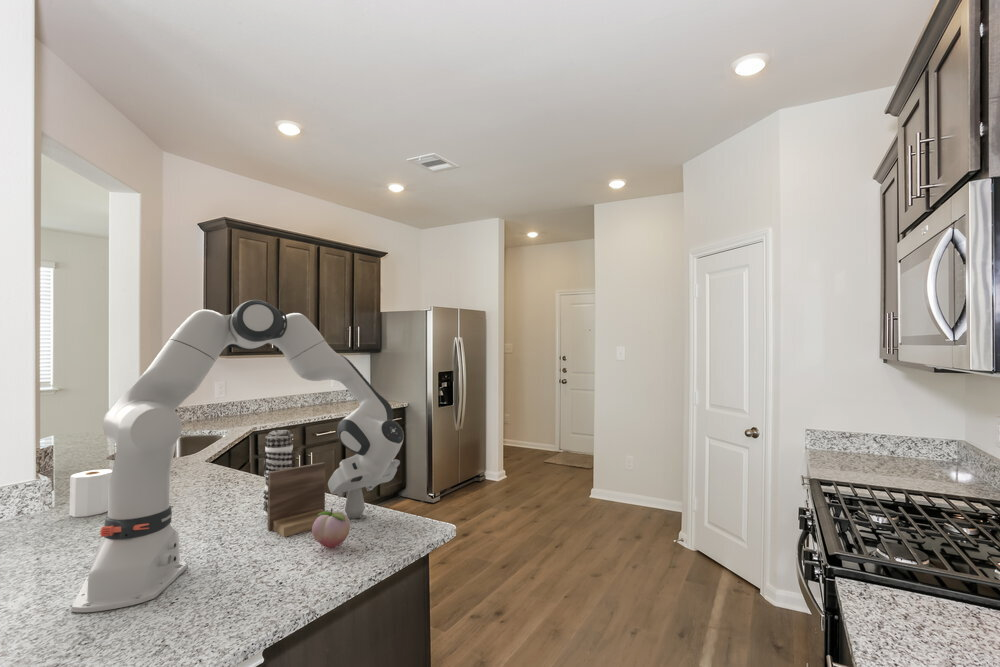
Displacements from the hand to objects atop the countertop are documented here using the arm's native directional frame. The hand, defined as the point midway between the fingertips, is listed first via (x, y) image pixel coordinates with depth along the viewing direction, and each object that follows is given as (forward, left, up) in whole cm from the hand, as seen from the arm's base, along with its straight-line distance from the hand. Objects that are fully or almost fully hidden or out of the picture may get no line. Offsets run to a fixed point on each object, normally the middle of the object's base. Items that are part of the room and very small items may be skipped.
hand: (354, 492), depth 145 cm
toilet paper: (+35, +77, -7) cm, 85 cm away
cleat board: (-3, +14, -7) cm, 16 cm away
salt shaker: (0, 0, -7) cm, 7 cm away
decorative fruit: (-22, +7, -7) cm, 24 cm away
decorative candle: (+13, +22, -7) cm, 26 cm away
